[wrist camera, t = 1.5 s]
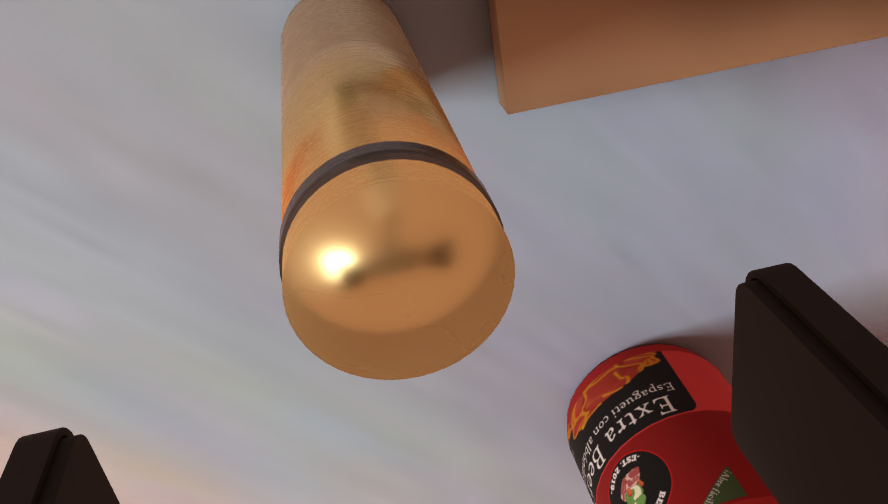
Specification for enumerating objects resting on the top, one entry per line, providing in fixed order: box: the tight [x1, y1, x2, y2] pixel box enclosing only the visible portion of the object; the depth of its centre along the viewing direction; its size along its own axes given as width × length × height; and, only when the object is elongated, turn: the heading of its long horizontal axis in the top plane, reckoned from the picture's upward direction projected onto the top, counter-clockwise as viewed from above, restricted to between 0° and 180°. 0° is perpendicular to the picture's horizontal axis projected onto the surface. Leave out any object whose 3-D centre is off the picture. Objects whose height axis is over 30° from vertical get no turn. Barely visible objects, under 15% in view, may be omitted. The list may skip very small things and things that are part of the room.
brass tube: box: [279, 0, 515, 380], centre depth 20 cm, size 4×4×15 cm
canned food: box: [567, 344, 779, 504], centre depth 32 cm, size 8×8×11 cm
